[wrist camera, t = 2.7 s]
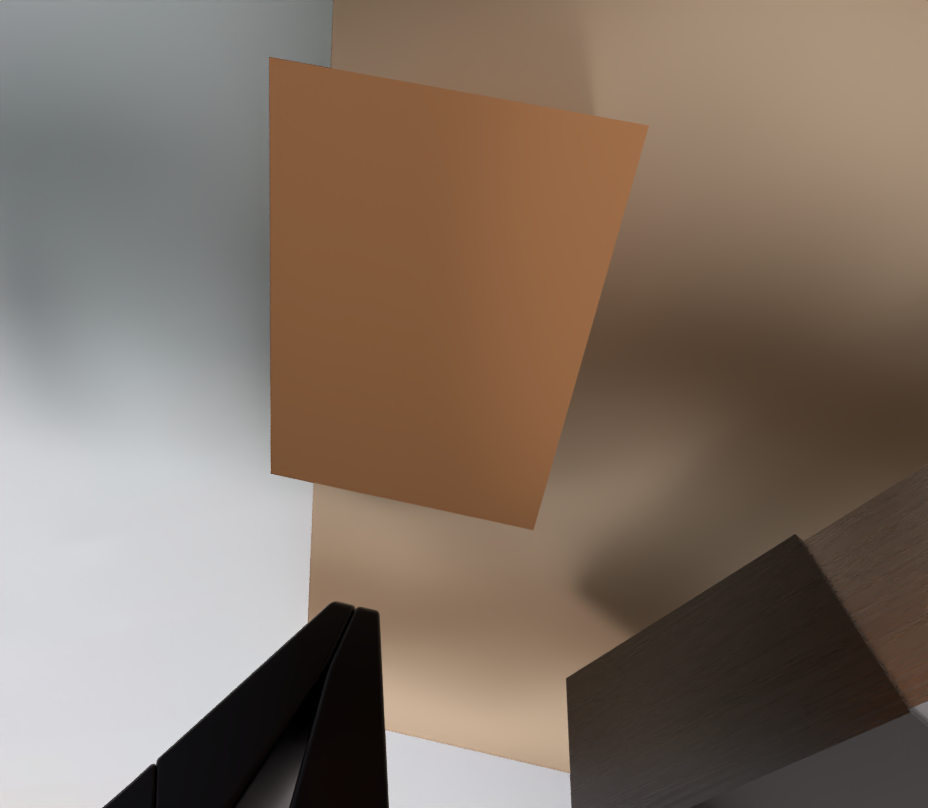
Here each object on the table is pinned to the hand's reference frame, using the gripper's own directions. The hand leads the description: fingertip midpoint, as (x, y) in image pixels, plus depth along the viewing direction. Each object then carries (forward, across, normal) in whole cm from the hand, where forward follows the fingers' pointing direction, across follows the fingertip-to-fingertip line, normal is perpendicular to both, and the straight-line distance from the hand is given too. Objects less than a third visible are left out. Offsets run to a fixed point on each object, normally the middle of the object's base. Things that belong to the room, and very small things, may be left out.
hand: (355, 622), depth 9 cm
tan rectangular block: (+2, -1, -6) cm, 7 cm away
